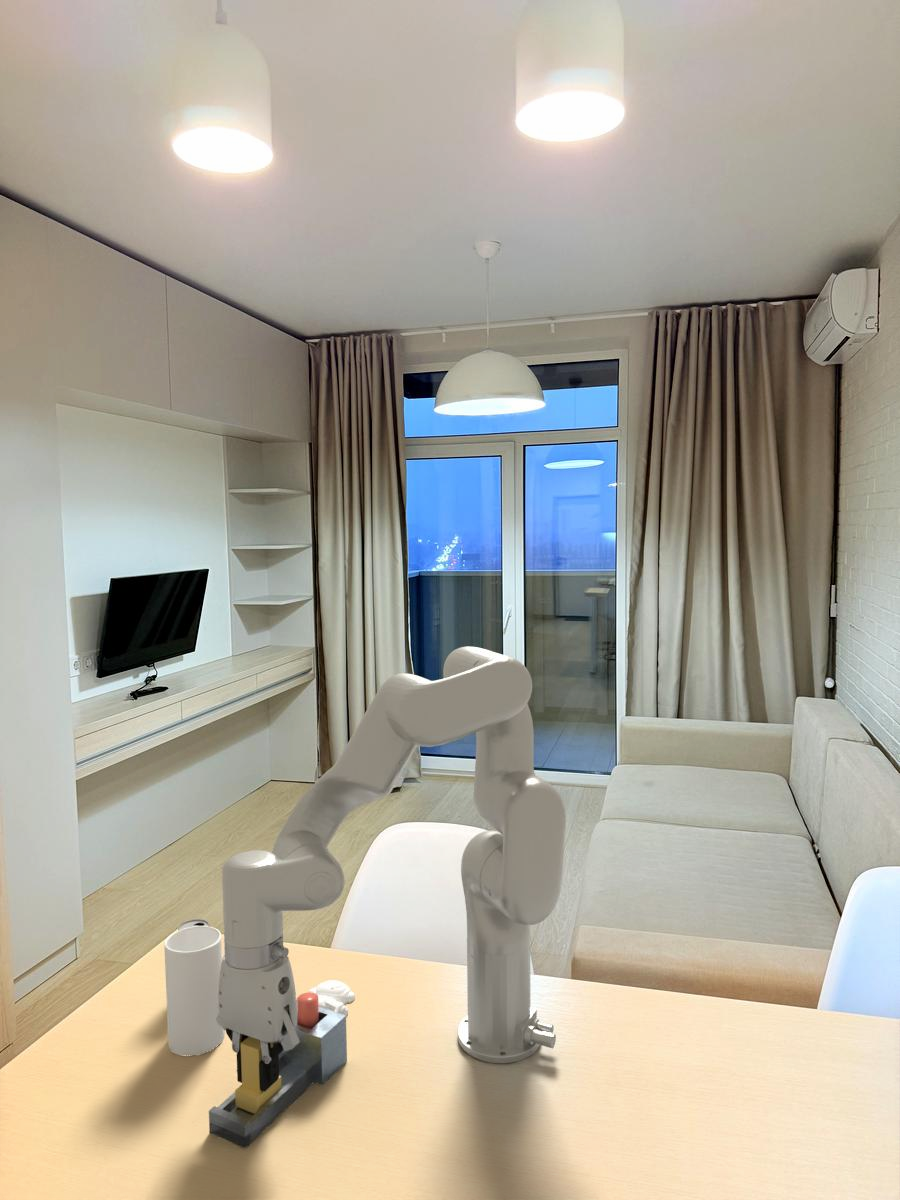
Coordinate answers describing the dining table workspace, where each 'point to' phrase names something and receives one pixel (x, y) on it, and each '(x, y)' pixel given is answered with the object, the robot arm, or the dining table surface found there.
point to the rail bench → (287, 1079)
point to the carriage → (253, 1078)
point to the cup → (193, 989)
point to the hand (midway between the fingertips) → (258, 1079)
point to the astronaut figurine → (333, 996)
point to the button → (308, 1010)
